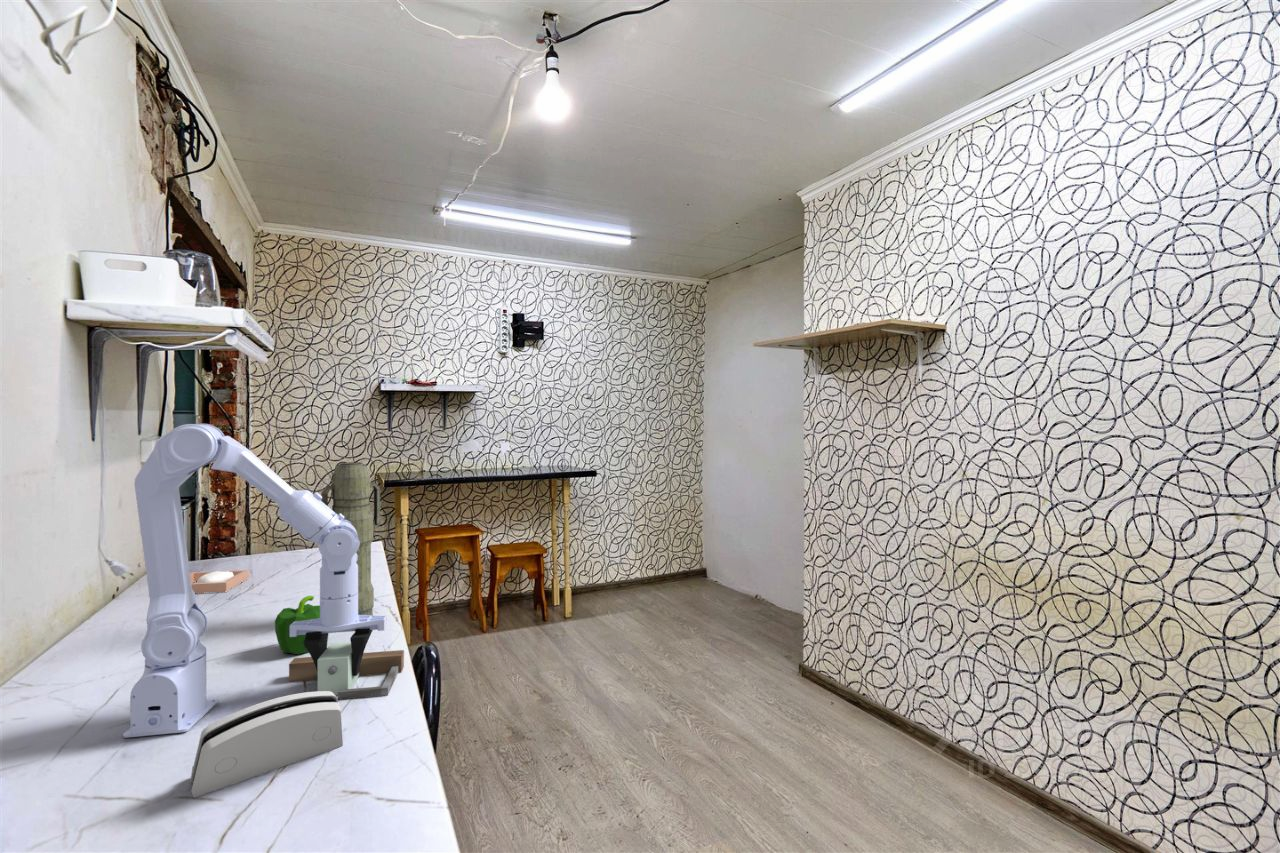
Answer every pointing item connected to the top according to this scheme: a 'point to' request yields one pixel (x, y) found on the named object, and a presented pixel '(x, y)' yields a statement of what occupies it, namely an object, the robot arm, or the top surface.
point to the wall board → (369, 666)
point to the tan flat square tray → (218, 586)
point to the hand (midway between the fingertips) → (339, 674)
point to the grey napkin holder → (266, 739)
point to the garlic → (215, 577)
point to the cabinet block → (336, 668)
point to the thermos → (357, 520)
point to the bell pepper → (287, 619)
